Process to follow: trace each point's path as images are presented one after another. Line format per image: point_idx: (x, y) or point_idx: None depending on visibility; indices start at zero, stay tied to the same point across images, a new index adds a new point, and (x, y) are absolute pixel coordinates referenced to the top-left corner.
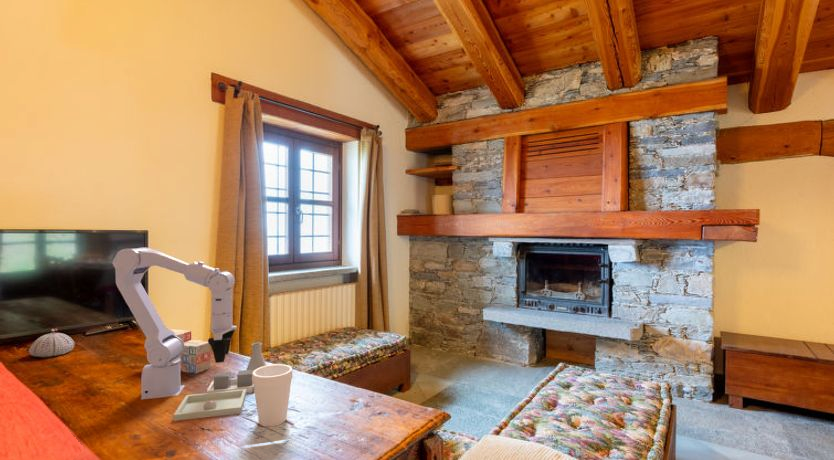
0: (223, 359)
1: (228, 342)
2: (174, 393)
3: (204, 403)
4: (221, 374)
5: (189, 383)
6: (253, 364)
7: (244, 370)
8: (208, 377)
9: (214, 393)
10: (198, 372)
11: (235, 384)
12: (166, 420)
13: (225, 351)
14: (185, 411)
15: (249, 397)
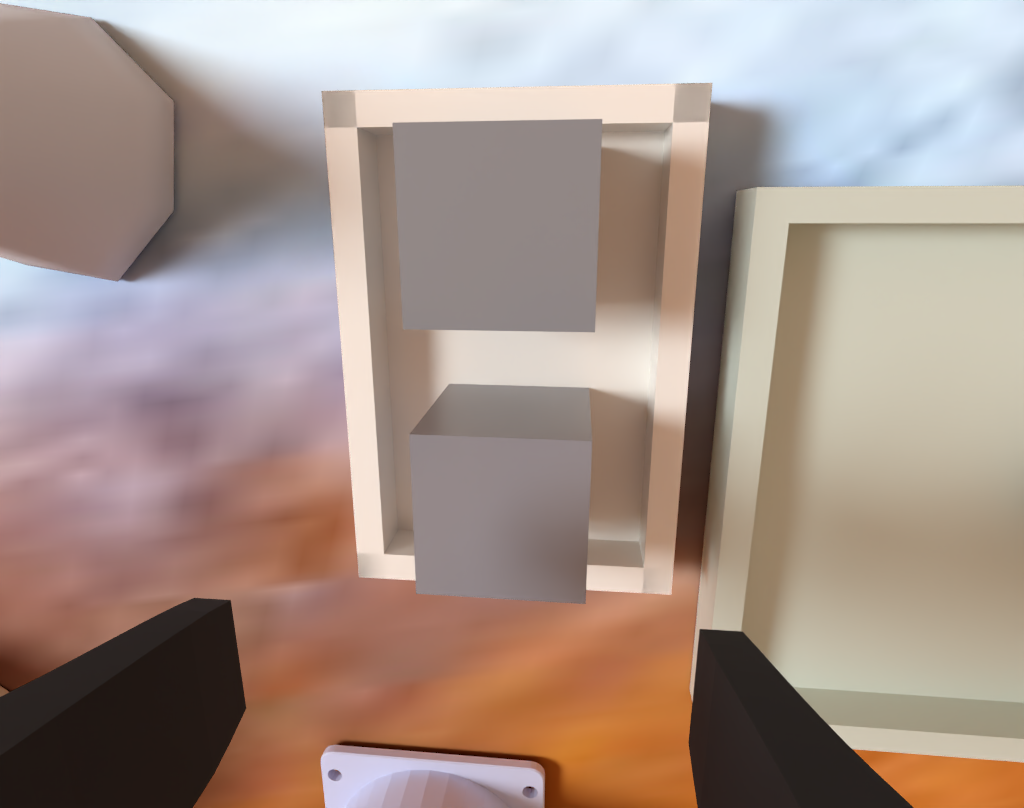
0: (769, 668)
1: (16, 787)
2: (501, 796)
3: (830, 560)
4: (495, 531)
5: (251, 718)
6: (27, 168)
7: (408, 251)
8: (127, 601)
9: (754, 515)
10: (3, 689)
11: (405, 342)
12: (1016, 765)
13: (881, 791)
14: (951, 677)
15: (794, 151)
